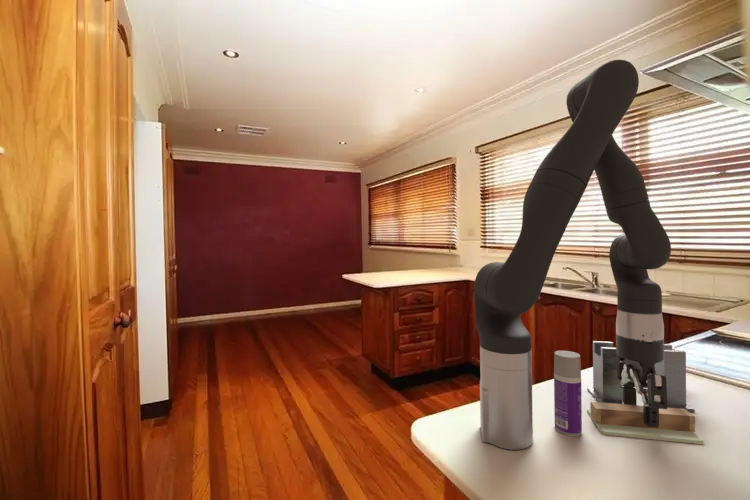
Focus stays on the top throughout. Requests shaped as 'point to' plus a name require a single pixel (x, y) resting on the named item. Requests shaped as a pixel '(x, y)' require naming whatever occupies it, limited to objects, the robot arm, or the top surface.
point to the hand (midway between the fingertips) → (639, 415)
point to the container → (567, 393)
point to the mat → (648, 433)
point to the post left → (605, 374)
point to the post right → (674, 377)
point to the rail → (641, 416)
